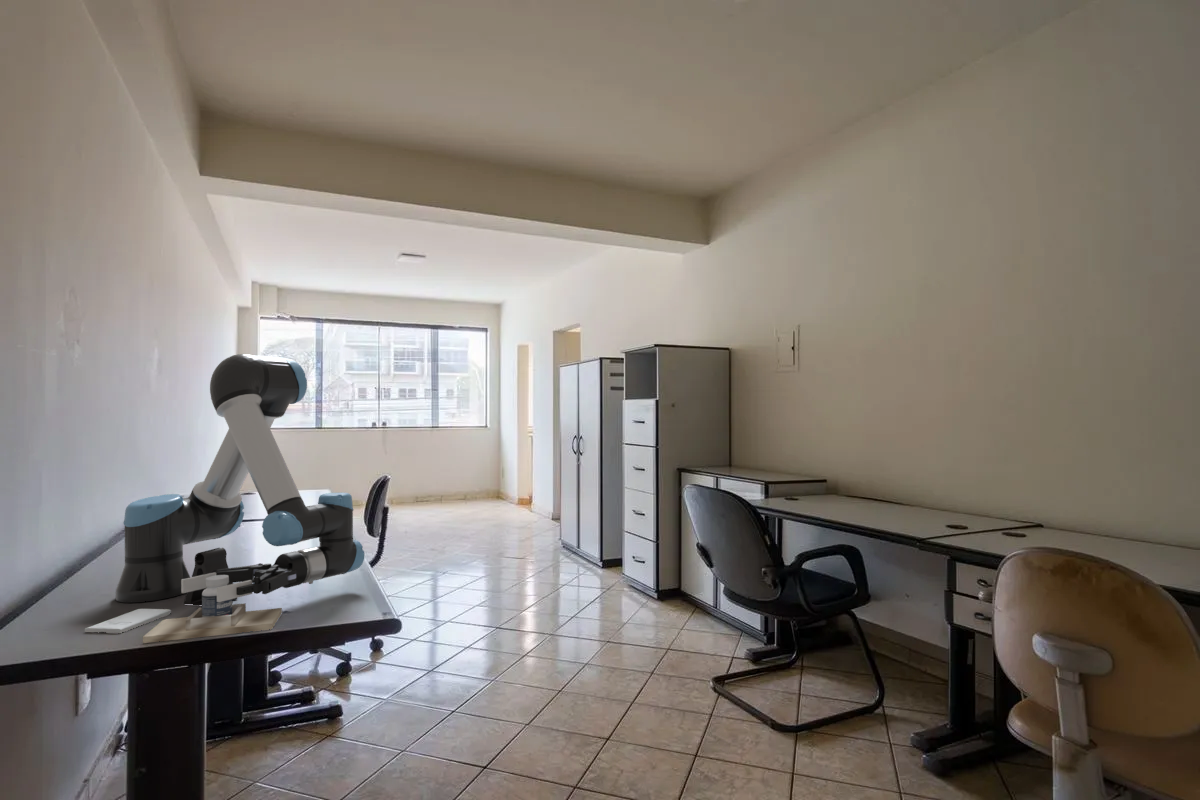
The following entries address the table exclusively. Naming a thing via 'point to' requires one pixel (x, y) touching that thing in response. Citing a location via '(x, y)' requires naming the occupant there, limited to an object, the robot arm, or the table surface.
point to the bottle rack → (213, 624)
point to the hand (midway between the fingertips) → (199, 590)
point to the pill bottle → (215, 597)
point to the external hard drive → (128, 621)
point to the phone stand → (206, 570)
